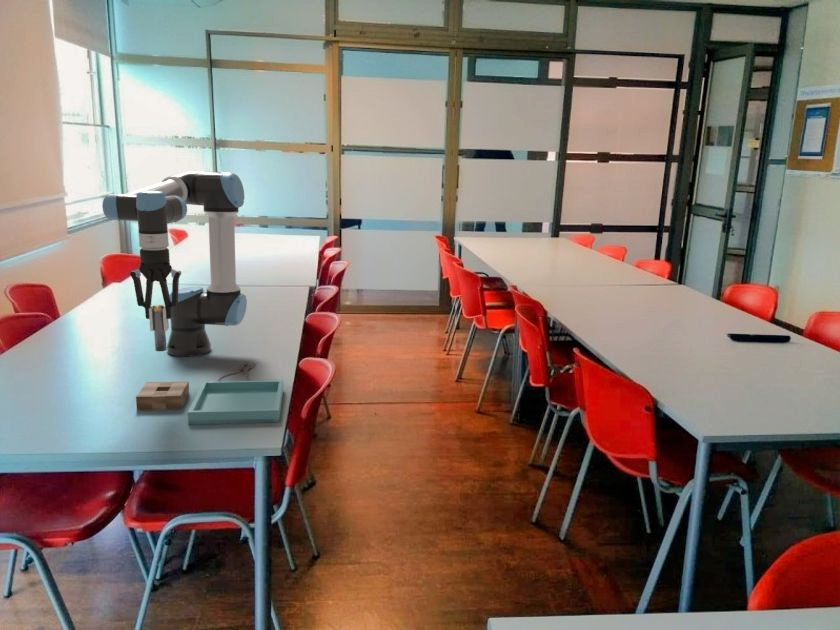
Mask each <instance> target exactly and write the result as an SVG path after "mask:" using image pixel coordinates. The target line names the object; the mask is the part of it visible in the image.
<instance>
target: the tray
mask: <svg viewBox="0 0 840 630" xmlns="http://www.w3.org/2000/svg"><path fill="white" fill-rule="evenodd" d="M283 395H284V379H283V380H282V379H279V380H278V379H277V380H276V379H275V380H273V379H272V380H248V381H246V380H223V381H222V380H220V381H218V380H216V381H212V380H211V381H209V380H208V381H202V382H201V385H200V386H199V389H198V391H197V393H196V395H195V397H194V399H193V401H192V403H191V405H190V407H189V408H188V410H187V421H188V423H187V424H188V425H212V424H213V425H216V424H221V425H222V424H252V423H253V424H254V423H261V424H262V423H279V422H280V417H281V410H282V404H283Z"/></svg>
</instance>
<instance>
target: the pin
mask: <svg viewBox="0 0 840 630" xmlns="http://www.w3.org/2000/svg"><path fill="white" fill-rule="evenodd" d="M151 306H152V308H153V322H154V331H153V332H154V333H153V334H154V335H153V336H154V348H155V349H154V351H156V352H164V351H165V352H166V351H167V336H166V333H167V331H164V323H163V308H164V307H165V304H154V305H151Z"/></svg>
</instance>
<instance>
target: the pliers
mask: <svg viewBox="0 0 840 630" xmlns="http://www.w3.org/2000/svg"><path fill="white" fill-rule="evenodd" d="M247 365H248V362H245V363H244V364H242V365H241V366H240V367H239V368H238V369H237V370H235V371H233V372H230V373H227V374H224V375H222V376H220V377H219V378H218V379H217V381H222V380H223V379H224V378H226V377H230V376H232V375H235V374H238V373H241V372H243V374H244V375H245V376H246V379H245V381H250V378H251V377H250V374H249V371H251V370H252V369H254V367H255V366H254V365H256V362H254V363H252V364H251V365H249V366H247Z"/></svg>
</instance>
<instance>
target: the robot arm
mask: <svg viewBox="0 0 840 630" xmlns="http://www.w3.org/2000/svg"><path fill="white" fill-rule="evenodd" d="M244 190H245V189H244V185H243V182H242V179H240V177H239V176H238V174H236V173H233V172H229V171H228V172H227V171H226V172H225V171H205V170H204V171H203V170H202V171H201V170H191V171H185V172H181V173H176V174H174V175H171V176H168V177H166V178H164V179H162V180H161V182H159V183H155V184H153V185H149V186H146V187H144V188H143V187H142V188H140V189H137V190H133V191H130V192H126V193H120V194H119V193H108V194H106V195H105V196H104V198H103V200H102V212H103V214H104V216H105V217H106V218H107V220H110V221H112V220H113V221H117V222H118V221H123V222H125V221H126V222H128V221H129V222H131V221H132V222H137V228H138V246H139V248H140V250H139V259H140V260H139V261H140V264H139V267H138V269H135V270H134V269H133V270H132V271H131V272H129V275H130V277H131V279H132V280H133V286H134V292H135V297H136V304H137V306H138V307H143V308H144V310H145V314H144V315H145V318H146V320H149V328H150V329H149V330H150V332H154V322H153V308H152V306H153V305H152V298H153V287H154V282H158V283H159V286H160V289H161V294H162V299H163V302H164V303H163V304H164V308H163V323H164V331H165V332H168V331H169V329H170V334H169V338H168V342H167V343H166V348H167V350H166V352H167V354H168V355H172V356H176V357H194V356H201V355H204V354H207V353H209V352H210V351H211V350H212V349H211V348H212V347H211V345H212V344H211V341H210V339H209V336H208V334H207V331H206V325H211V326H226V327H229V326H230V327H231V326H235V327H236V326H239V325H240V324H241V323H242V322H243V320H244V318H245V315H246V312H247V306H248V305H247V304H248V299H247V296H246V295H245V294H244V293H241V287H240V286H239V285H238V284H237V275H236V274H237V273H236V270H237V269H236V241H235V240H236V239H235V238H236V236H235V216H236V215H237V214H238V213H239V208H241V207H243V205H244V203H245V201H244V200H245V191H244ZM187 205H191V206H203V212H204V214H206V216H207V217H208V236H209V237H208V239H209V263H210V265H209V268H210V269H209V270H210V284H209V286H207V287H206V291H205V290H204V287H202V286H189V287H184V288H179V283H180V277H181V275H182V271H181V270H176V269H173V267H172V266H171V263H170V261H171V260H170V249H169V248H168V247H169V245H170V244H169V243H170V242H169V231H168V224H171V223H177V222H179V221H181V220H183V219H184V218H186V215H187V213H188V206H187ZM141 274H142V276H143V277H144V278H145V281H146V283H145V295H144V292H143V286H142V281H141ZM170 274H171V278H172V284H171V285H172V286H171V287H172V290H171V292H170V291H169V286H168V284H167V283H168V282H167V281H168V280H167V278H168V276H169V275H170ZM169 320H170V323H169ZM169 325H170V326H169Z"/></svg>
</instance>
